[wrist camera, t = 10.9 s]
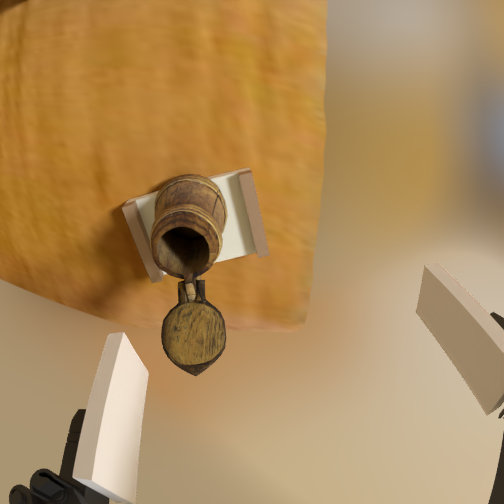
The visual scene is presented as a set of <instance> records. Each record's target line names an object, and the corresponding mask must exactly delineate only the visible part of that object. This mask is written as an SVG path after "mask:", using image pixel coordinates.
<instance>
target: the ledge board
mask: <svg viewBox="0 0 504 504" xmlns="http://www.w3.org/2000/svg"><path fill="white" fill-rule="evenodd" d="M207 178H209V179H210V180H212V181H213V182H214V183H216V184H217V185H218V187H219V189H220V191H221V193H222V195H223V197H224V199H225V202H226V207H227V213H228V217H227V222H226V226H225V229H224V231H223V233H222V238H223V244H222V249H221V252H220V255H219V257H218V258H217V260H216V261H215V262H219V261H223V260H228V259H232V258H236V257H240V256H244V255H248V254H253V253H257V256H258V258H260V257H264V256H269V250H268V245H267V240H266V236H265V231H264V226H263V222H262V217H261V212H260V208H259V203H258V198H257V194H256V189H255V184H254V180H253V175H252V172H251V170H250V168H249V167H248V168H243V169H239V170H235V171H231V172H226V173H222V174H218V175H214V176H210V177H207ZM159 191H160V190H159ZM159 191H156V192H153V193H149V194H146V195H143V196H140V197H136V198H133V199H130V200H128V201H127V202H126V203H125V204H124V206H123V207H122V210H123V213H124V216H125V218H126V221H127V224H128V226H129V229H130V231H131V234H132V237H133V239H134V242H135V244H136V247H137V249H138V251H139V254H140V256H141V259H142V261H143V263H144V266H145V268H146V270H147V273H148V275H149V277H150V280H151V282H152V283H155V282H159V281H162V280H163V276H164V275H165V274H167V273H165V272H164V271H162V270H160V269H159V268H158V266H157V265H156V264H155V262H154V259H153V256H152V252H151V247H150V234H151V229H152V225H153V223H154V221H155V217H154V205H155V199H156V197H157V194H158V192H159ZM215 262H214V263H215Z"/></svg>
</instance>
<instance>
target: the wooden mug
mask: <svg viewBox="0 0 504 504" xmlns="http://www.w3.org/2000/svg"><path fill="white" fill-rule="evenodd" d="M154 217H155V221H154V223H153V225H152V229H151V234H150V247H151V252H152V256H153V259H154V262H155V264H156V265H157V266H158V268H159V269H160V270H162V271H164V272H165V273H167V274H169V275H171V276H174V277H177V278H181V279H184V281H181V282H178V301H179V303H178V304H177V305H176V306H175V307H174V308H172V309H171V310H170V311H169V313H168V314H167V316H166V317H165V318H164V320H163V325H162V333H161V338H162V345H163V349H164V351H165V353H166V355H167V357H168V358H169V359H170V360H171V361H172V362H173V363H174V364H175V365H176V366H178V367H179V368H181V369H182V370H184V371H186V372H188V373H190V374H192V375H194V376H197V375H199V374H200V373H202V372H203V371H204V370H206V369H207V368H208V367H209V366H210V365H212V364H213V363H214V362H215V361H216V360H217V359H218V358H219V357H220V356H221V354H222V352H223V351H224V349H225V342H226V330H225V322H224V319H223V316H222V314H221V312H220V311H219V310H218V309H217V308H216V307H214V306H213V305H212V304H210V303H209V302H208V301H207V300H206V299H205V280H201V275H202V274H203V273H205V272H206V271H208V270H209V269H210V268H211V267H212V265H213V264H214V262H215V261H216V260H217V258H218V257H219V255H220V252H221V249H222V244H223V238H222V233H223V231H224V229H225V226H226V222H227V217H228V213H227V207H226V202H225V199H224V197H223V195H222V193H221V191H220V189H219V187H218V185H217V184H216V183H214V182H213V181H212V180H210V179H209V178H207V177H203V176H200V175H193V174H187V175H180V176H177V177H175V178H173V179H171V180H169V181H168V182H167V183H166V184H164V185H163V186H162V188H161V189H160V191H159V192H158V194H157V197H156V199H155V205H154Z"/></svg>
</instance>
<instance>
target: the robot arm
mask: <svg viewBox="0 0 504 504" xmlns="http://www.w3.org/2000/svg"><path fill="white" fill-rule="evenodd" d="M416 313H417V314H418V316H419V317H420V318H421V320H422V321H423V322H424V324H425V325H426V326H427V328H428V329H429V330H430V332H431V333H432V334H433V336H434V337H435V338H436V340H437V341H438V343H439V344H440V345H441V347H442V348H443V350H444V351H445V352H446V354H447V355H448V357H449V358H450V360H451V361H452V362H453V364H454V365H455V367H456V368H457V370H458V371H459V373H460V374H461V375H462V377H463V378H464V380H465V382H466V383H467V384H468V386H469V388H470V389H471V391H472V392H473V394H474V395H475V397H476V399H477V400H478V402H479V403H480V405H481V407H482V408H483V410H484V411H485V413H486V415H489V414H490V413H492V412H493V411H494V410H496V409H497V408H499V407H500V406H501V405H502V403H503V402H504V318H503V317H501V316H499V315H498V314H496V313H494V312H493V313H491V314H489V313H488V312H487V311H486V310H485V309H484V308H483V307H482V306H481V305H480V303H479V302H478V301H477V300H476V299H475V298H474V297H473V296H472V295H471V294H470V293H469V292H468V291H467V290H466V289H465V288H464V287H463V286H462V285H461V284H460V283H459V282H458V281H457V280H456V279H455V278H454V277H453V276H452V275H451V274H450V273H449V272H447V270H445V269H444V268H443V267H442V266H441V265H440V264H439V263H438V262H435V263H432V264H428V265H425V266H424V272H423V278H422V284H421V289H420V295H419V300H418V305H417V309H416ZM148 375H149V373H148V371H147V369H146V368H145V366H144V365H143V363H142V362H141V360H140V359H139V357H138V355H137V353H136V352H135V350H134V349H133V347H132V345H131V343H130V342H129V340H128V338H127V337H126V335H125V333H124V332H120V333H113V334H108V337H107V340H106V343H105V347H104V350H103V353H102V357H101V359H100V363H99V366H98V369H97V373H96V376H95V380H94V383H93V387H92V390H91V394H90V398H89V401H88V405H87V409H79V410H78V411H77V413H76V414H75V416H74V417H73V419H72V422H71V425H70V430H69V432H70V433H69V434H68V437H67V443H66V446H65V450H64V455H63V460H62V465H61V470H60V474H59V476H58V475H56V474H55V473H53V472H52V471H50V470H48V469H40V470H37V471H36V472H35V473H34V474H33V475H32V477H31V480H30V489H28V488H27V487H25V486H23V485H16V486H14V487H13V488H12V490H11V491H10V495H9V503H10V504H109V499H111V500H113V501H115V502H118V503H125V504H136V486H137V472H138V459H139V448H140V438H141V428H142V419H143V411H144V403H145V395H146V389H147V382H148ZM503 415H504V409H503V410H502V412H501V413H500V415H499V418H501V417H502V416H503ZM488 504H504V433H503V440H502V447H501V453H500V459H499V463H498V468H497V473H496V477H495V481H494V485H493V489H492V493H491V496H490V500H489V503H488Z"/></svg>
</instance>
